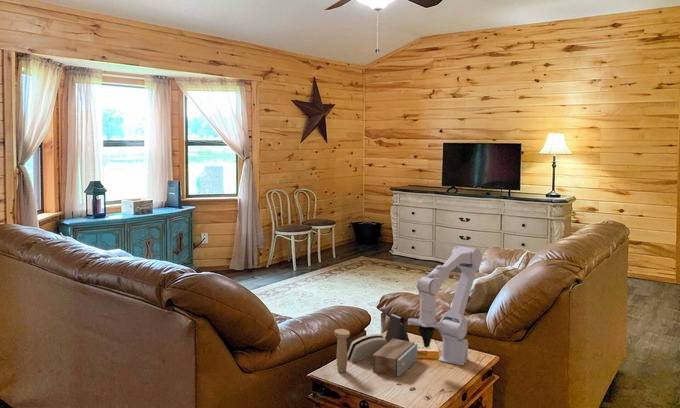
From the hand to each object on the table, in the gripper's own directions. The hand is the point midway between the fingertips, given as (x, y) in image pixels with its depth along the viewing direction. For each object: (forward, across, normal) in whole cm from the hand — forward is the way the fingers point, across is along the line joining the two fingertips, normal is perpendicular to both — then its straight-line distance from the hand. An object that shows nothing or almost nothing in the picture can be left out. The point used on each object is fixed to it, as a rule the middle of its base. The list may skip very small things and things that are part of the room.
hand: (426, 346), depth 204 cm
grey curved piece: (+10, -25, +2) cm, 27 cm away
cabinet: (+9, -12, 0) cm, 16 cm away
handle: (+10, -27, -15) cm, 32 cm away
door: (+9, -7, -1) cm, 11 cm away
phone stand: (+10, -20, +21) cm, 31 cm away
